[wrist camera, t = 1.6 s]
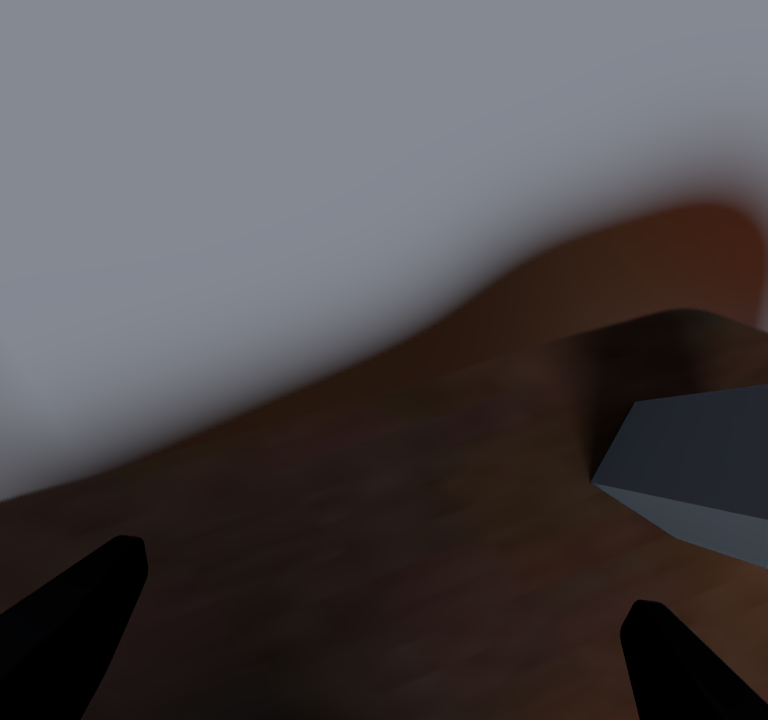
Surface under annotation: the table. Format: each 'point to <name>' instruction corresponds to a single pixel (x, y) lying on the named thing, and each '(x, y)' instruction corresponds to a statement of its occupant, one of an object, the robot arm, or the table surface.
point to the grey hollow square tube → (697, 469)
